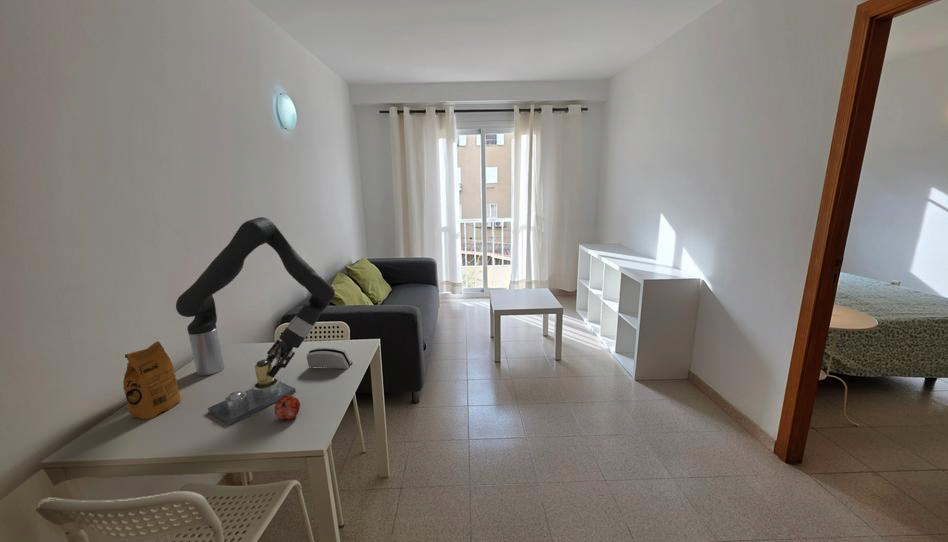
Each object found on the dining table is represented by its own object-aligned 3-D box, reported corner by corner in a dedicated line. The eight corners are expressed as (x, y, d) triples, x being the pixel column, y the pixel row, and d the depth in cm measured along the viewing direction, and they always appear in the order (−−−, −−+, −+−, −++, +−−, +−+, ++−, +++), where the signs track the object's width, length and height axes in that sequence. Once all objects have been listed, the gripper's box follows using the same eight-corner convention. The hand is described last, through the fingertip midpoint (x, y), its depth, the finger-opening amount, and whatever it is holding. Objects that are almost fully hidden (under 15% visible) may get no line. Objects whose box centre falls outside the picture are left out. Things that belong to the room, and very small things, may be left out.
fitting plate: (208, 412, 126) (205, 397, 125) (273, 382, 144) (271, 369, 143) (229, 425, 119) (226, 409, 118) (295, 392, 137) (293, 377, 135)
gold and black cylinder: (256, 392, 135) (251, 363, 132) (270, 385, 139) (265, 357, 136) (264, 396, 132) (259, 366, 129) (278, 389, 136) (273, 360, 134)
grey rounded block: (353, 362, 158) (347, 344, 152) (349, 371, 154) (342, 353, 148) (315, 362, 160) (307, 344, 154) (309, 371, 156) (301, 352, 150)
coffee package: (125, 418, 125) (108, 355, 120) (163, 398, 137) (149, 339, 132) (148, 422, 122) (132, 357, 118) (186, 400, 134) (172, 341, 129)
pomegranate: (280, 419, 125) (263, 416, 116) (288, 395, 128) (272, 391, 119) (302, 422, 124) (287, 420, 115) (309, 398, 127) (294, 394, 118)
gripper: (281, 322, 142) (252, 361, 137) (294, 331, 132) (262, 374, 127) (298, 331, 147) (270, 369, 142) (312, 341, 136) (282, 383, 131)
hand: (266, 372), depth 134 cm, fingers open, 8 cm apart
